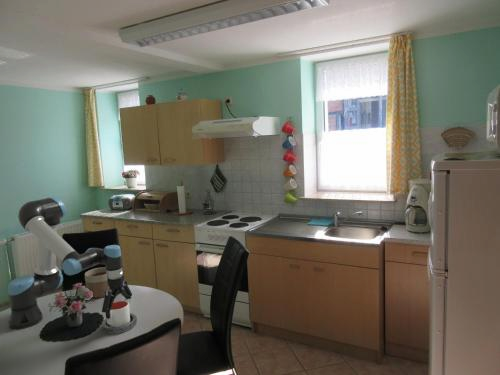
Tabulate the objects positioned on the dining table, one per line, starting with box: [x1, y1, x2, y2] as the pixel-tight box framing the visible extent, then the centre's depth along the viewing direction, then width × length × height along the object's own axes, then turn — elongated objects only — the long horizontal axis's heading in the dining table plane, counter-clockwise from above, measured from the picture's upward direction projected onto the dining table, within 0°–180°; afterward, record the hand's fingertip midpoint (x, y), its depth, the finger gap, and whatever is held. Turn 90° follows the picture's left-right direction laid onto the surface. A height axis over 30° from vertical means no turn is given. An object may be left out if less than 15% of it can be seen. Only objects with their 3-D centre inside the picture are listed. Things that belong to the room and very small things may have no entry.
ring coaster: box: [101, 312, 138, 335], centre depth 186 cm, size 16×16×3 cm
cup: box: [109, 300, 130, 327], centre depth 186 cm, size 10×10×10 cm
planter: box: [84, 266, 110, 299], centre depth 227 cm, size 16×16×14 cm
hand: (119, 317), depth 186 cm, fingers open, 13 cm apart
